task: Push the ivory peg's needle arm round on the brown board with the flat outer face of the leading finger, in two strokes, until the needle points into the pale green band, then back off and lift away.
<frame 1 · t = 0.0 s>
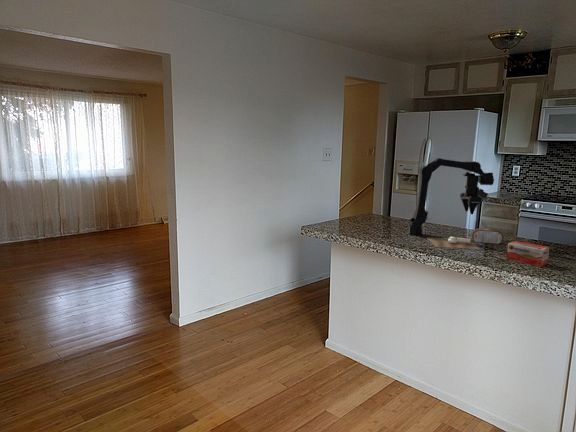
hand: (469, 212, 229), 15 cm above the countertop, tool pointing down, fingers open, 9 cm apart
tin: (486, 245, 219), on the countertop
peg: (460, 240, 214), point 3 cm above the countertop, hinge at -20.0°
medicine box: (526, 262, 189), on the countertop
brown board: (452, 245, 216), on the countertop
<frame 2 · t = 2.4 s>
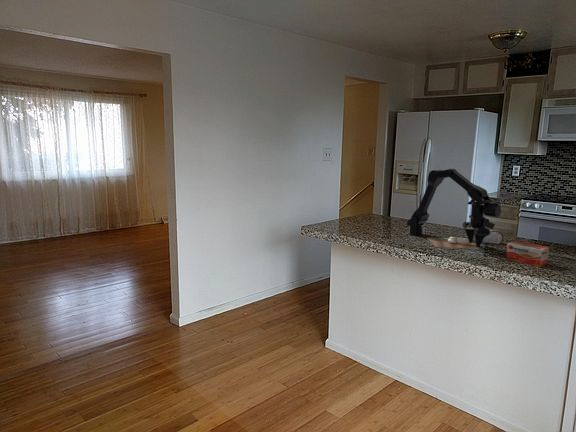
hand: (474, 245, 206), 3 cm above the countertop, tool pointing down, fingers open, 8 cm apart
peg: (460, 240, 214), point 3 cm above the countertop, hinge at -17.2°, touching gripper
everything else where it was.
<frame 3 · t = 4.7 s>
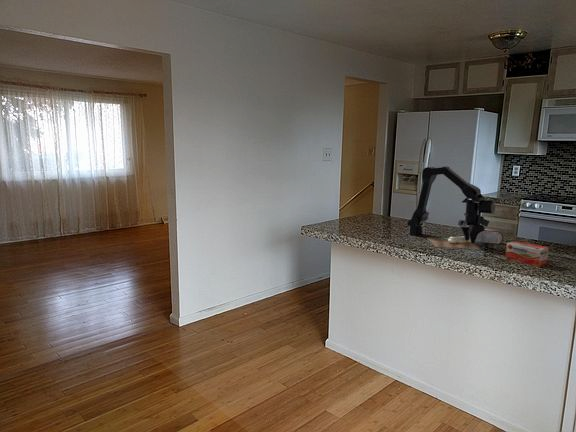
hand: (469, 242, 212), 3 cm above the countertop, tool pointing down, fingers open, 7 cm apart
peg: (458, 239, 217), point 3 cm above the countertop, hinge at 24.4°, touching gripper
everything else where it was.
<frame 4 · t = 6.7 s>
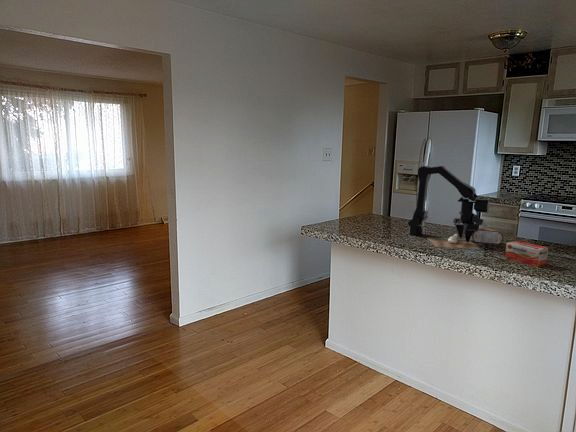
hand: (464, 239, 219), 2 cm above the countertop, tool pointing down, fingers open, 9 cm apart
peg: (454, 238, 219), point 3 cm above the countertop, hinge at 63.6°, touching gripper
everything else where it was.
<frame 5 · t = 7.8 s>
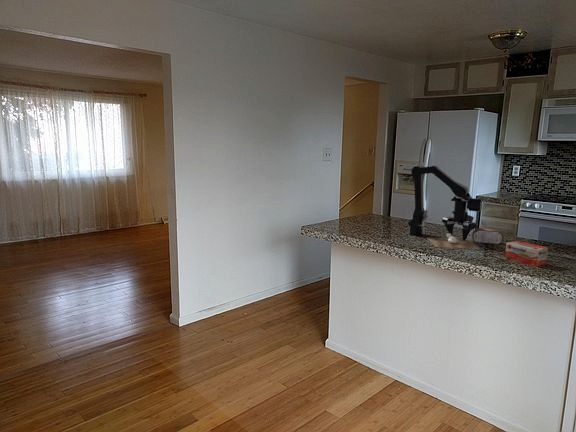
hand: (457, 238, 221), 2 cm above the countertop, tool pointing down, fingers open, 9 cm apart
peg: (450, 238, 219), point 3 cm above the countertop, hinge at 89.9°, touching gripper
everything else where it was.
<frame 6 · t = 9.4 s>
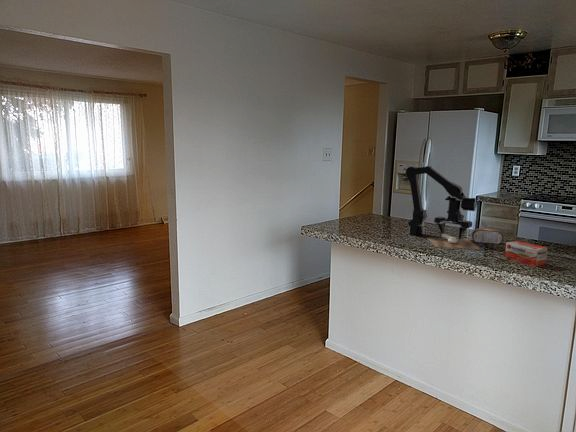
hand: (451, 237, 223), 2 cm above the countertop, tool pointing down, fingers open, 9 cm apart
peg: (448, 238, 219), point 3 cm above the countertop, hinge at 110.1°, touching gripper
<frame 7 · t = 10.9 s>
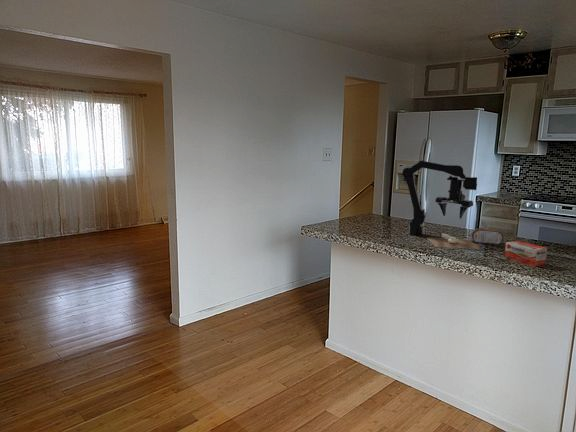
hand: (452, 217, 225), 13 cm above the countertop, tool pointing down, fingers open, 9 cm apart
peg: (447, 238, 219), point 3 cm above the countertop, hinge at 110.7°
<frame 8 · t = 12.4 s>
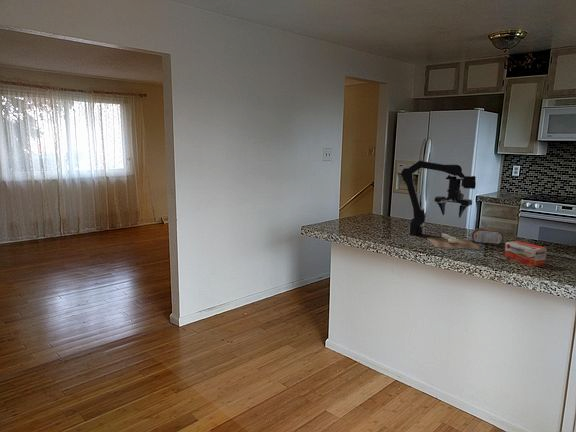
hand: (451, 216, 226), 13 cm above the countertop, tool pointing down, fingers open, 9 cm apart
at the end: peg at +111° (first picture: -20°); peg touching nothing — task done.
